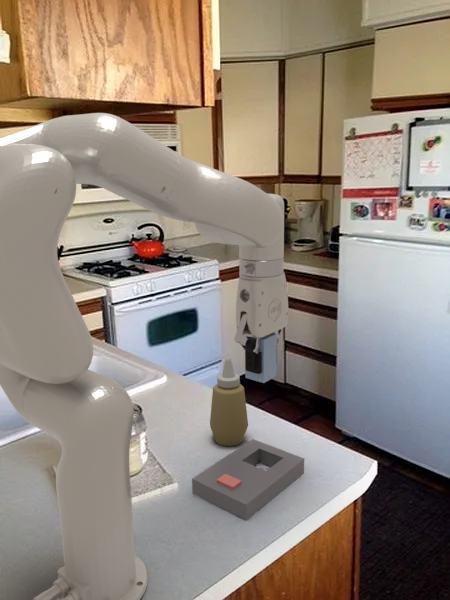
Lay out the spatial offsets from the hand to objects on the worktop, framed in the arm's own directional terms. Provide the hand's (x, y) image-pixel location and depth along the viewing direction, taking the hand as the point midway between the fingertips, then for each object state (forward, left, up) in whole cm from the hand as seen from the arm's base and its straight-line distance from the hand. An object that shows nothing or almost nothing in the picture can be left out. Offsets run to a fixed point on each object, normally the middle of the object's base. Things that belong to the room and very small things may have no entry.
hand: (261, 366), depth 99 cm
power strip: (-4, 0, -21) cm, 22 cm away
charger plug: (0, 0, -2) cm, 2 cm away
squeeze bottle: (+6, +13, -22) cm, 26 cm away
